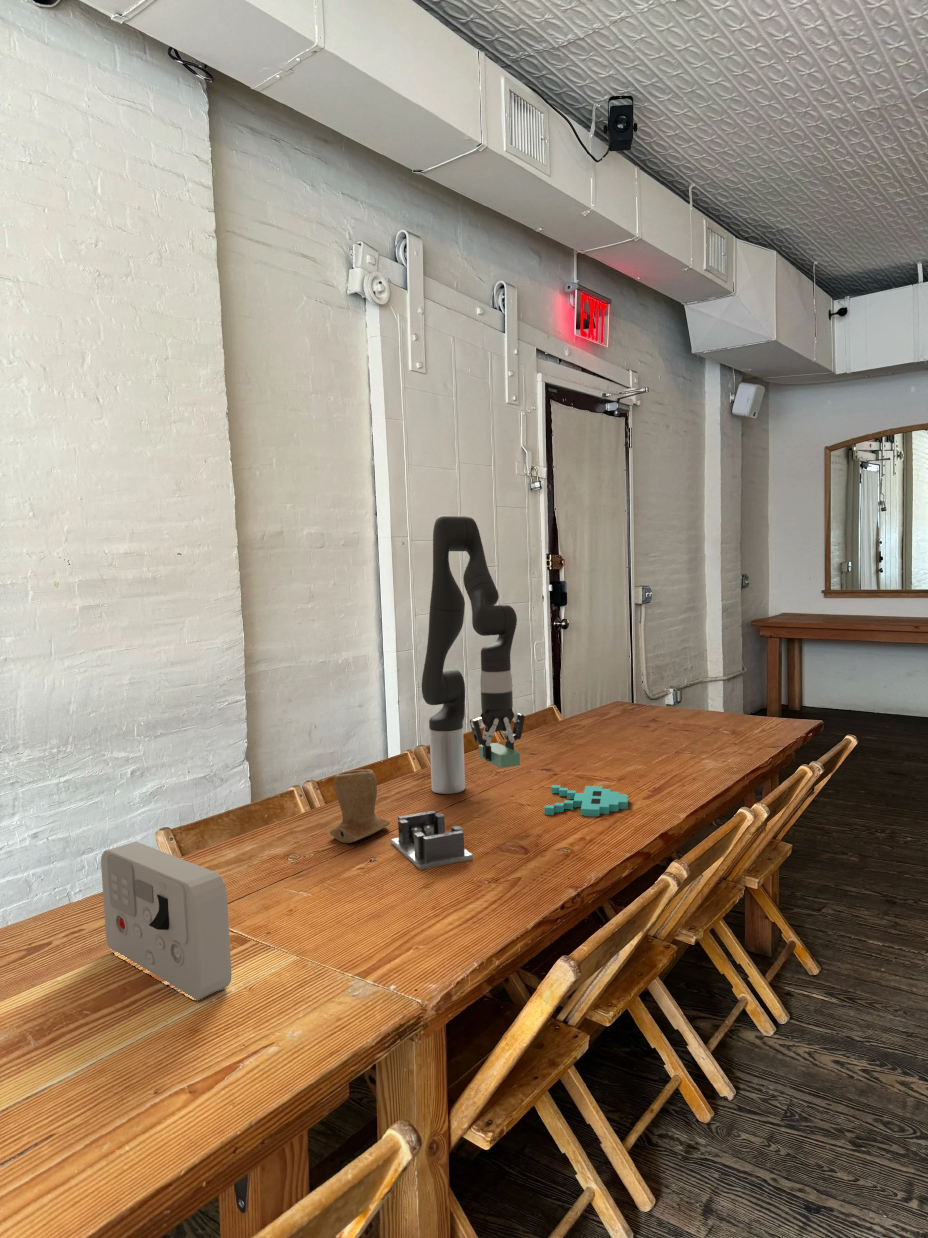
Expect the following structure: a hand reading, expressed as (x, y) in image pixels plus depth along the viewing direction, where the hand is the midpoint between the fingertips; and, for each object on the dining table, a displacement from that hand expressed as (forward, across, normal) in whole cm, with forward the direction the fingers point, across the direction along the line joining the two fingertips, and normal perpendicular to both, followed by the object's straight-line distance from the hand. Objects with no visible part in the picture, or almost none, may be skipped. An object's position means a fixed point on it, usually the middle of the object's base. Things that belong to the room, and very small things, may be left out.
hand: (498, 758), depth 200 cm
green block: (+1, 0, 0) cm, 1 cm away
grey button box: (+15, +80, +39) cm, 90 cm away
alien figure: (+16, -26, -1) cm, 30 cm away
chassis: (+15, +22, +11) cm, 29 cm away
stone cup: (+16, +33, -8) cm, 38 cm away
